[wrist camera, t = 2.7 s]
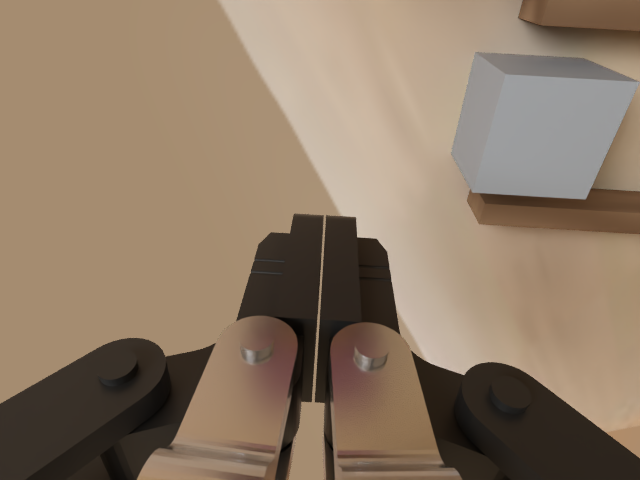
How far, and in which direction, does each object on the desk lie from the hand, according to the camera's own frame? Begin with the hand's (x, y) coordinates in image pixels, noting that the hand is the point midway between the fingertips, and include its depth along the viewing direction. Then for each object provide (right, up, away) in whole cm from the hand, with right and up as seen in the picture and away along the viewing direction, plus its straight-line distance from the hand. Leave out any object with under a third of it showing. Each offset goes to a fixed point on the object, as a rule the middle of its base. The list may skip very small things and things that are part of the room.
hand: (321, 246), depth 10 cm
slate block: (+10, +7, +10) cm, 16 cm away
